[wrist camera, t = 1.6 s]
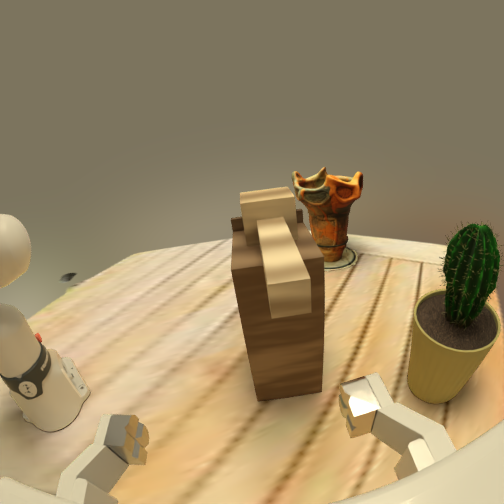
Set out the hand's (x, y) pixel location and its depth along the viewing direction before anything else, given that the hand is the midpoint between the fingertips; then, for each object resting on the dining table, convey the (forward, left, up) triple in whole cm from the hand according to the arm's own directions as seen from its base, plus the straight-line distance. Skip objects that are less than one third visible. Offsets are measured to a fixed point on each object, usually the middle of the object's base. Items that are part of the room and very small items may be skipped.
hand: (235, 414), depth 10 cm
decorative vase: (-45, +61, -33) cm, 83 cm away
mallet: (-18, +17, -6) cm, 26 cm away
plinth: (-22, +20, -32) cm, 44 cm away
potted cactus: (+2, +36, -33) cm, 48 cm away
